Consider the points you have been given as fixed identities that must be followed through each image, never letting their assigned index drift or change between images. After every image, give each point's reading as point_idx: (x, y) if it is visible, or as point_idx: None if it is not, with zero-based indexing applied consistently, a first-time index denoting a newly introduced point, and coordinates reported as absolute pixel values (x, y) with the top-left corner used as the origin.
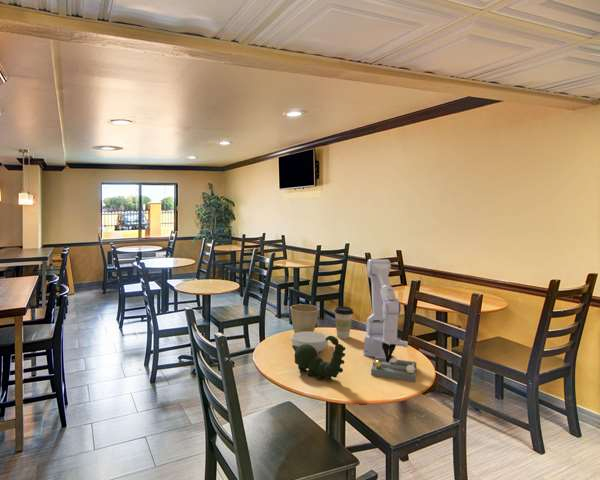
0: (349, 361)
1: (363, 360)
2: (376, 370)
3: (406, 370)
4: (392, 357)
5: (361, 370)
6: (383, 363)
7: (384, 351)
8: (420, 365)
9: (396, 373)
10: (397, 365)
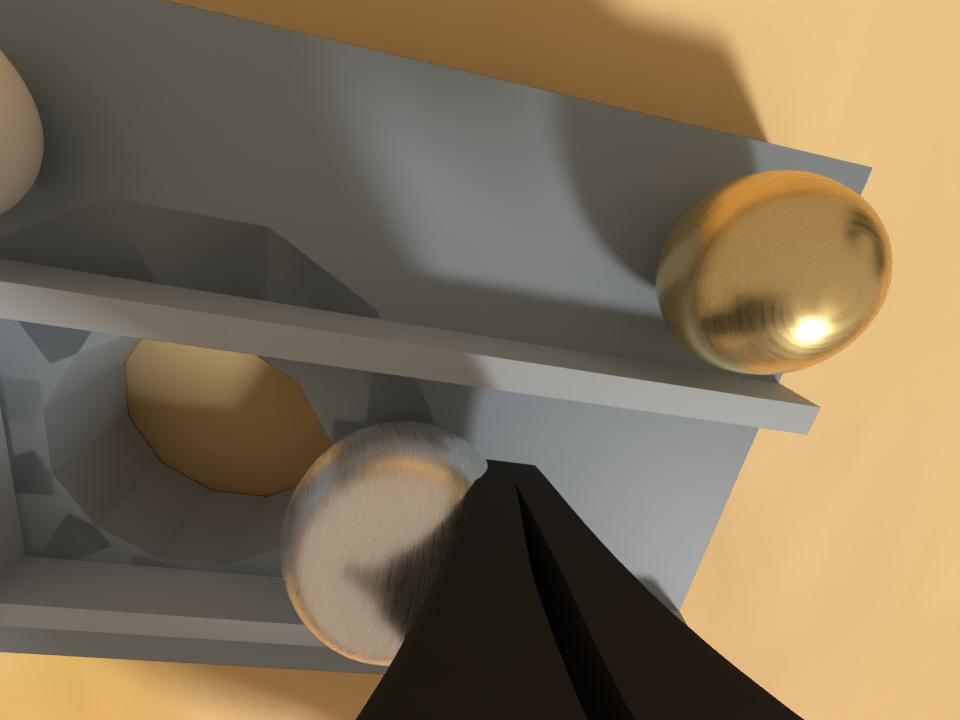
0: (938, 569)
1: (754, 635)
2: (762, 142)
3: (26, 92)
4: (400, 553)
5: (877, 327)
6: (606, 395)
7: (746, 687)
8: (15, 679)
9: (326, 44)
10: (290, 358)
